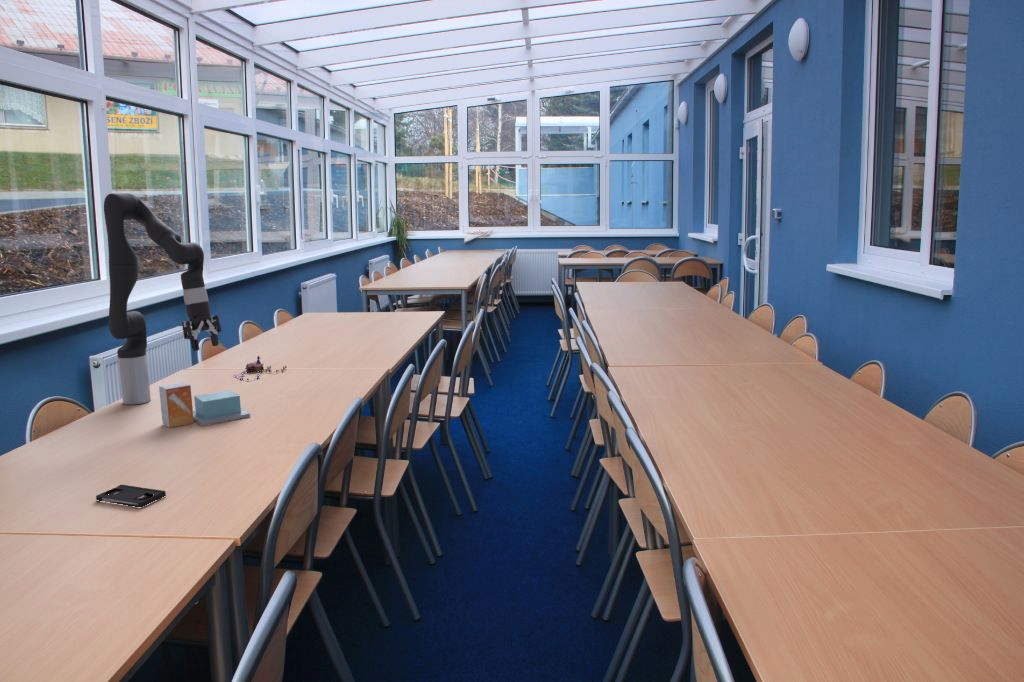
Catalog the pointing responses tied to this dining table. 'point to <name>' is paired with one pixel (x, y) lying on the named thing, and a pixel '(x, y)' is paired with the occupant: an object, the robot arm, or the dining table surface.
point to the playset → (257, 367)
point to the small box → (176, 404)
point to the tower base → (218, 408)
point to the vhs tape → (131, 495)
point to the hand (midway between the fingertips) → (206, 348)
